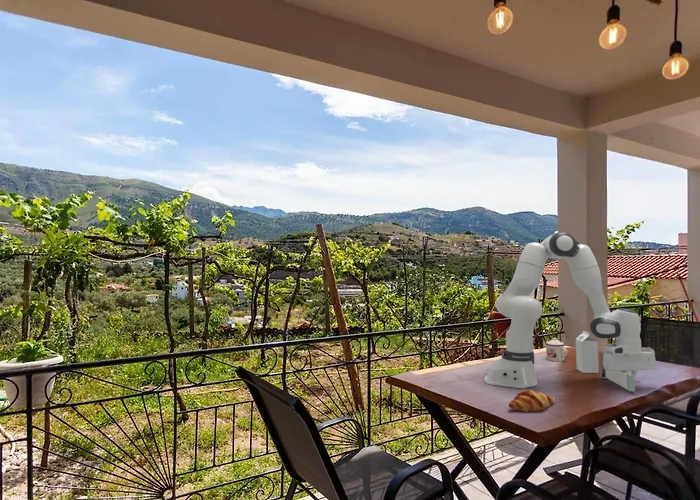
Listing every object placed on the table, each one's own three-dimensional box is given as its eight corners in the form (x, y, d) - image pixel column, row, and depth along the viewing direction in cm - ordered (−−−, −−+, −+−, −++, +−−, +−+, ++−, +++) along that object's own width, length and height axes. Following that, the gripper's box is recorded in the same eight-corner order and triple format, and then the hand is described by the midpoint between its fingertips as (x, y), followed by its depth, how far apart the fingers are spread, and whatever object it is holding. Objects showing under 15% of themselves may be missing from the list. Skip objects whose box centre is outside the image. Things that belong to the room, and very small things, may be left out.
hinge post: (600, 379, 189) (599, 354, 189) (597, 376, 194) (596, 352, 194) (613, 380, 188) (612, 355, 188) (610, 377, 192) (609, 352, 193)
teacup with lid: (542, 358, 230) (541, 337, 230) (554, 357, 233) (554, 336, 233) (560, 363, 219) (559, 341, 219) (573, 361, 222) (572, 339, 222)
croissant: (547, 410, 162) (539, 389, 166) (567, 405, 154) (558, 383, 158) (505, 418, 154) (497, 396, 158) (523, 413, 146) (515, 389, 150)
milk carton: (591, 369, 206) (590, 330, 206) (598, 373, 199) (597, 333, 199) (576, 369, 207) (575, 330, 207) (583, 373, 200) (581, 333, 200)
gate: (605, 377, 189) (604, 362, 189) (609, 377, 189) (609, 362, 189) (629, 391, 169) (629, 375, 169) (635, 391, 168) (634, 375, 169)
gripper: (649, 345, 179) (650, 378, 179) (600, 346, 180) (601, 379, 180) (659, 348, 173) (660, 382, 172) (608, 349, 174) (609, 383, 173)
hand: (630, 380), depth 176 cm, fingers closed
